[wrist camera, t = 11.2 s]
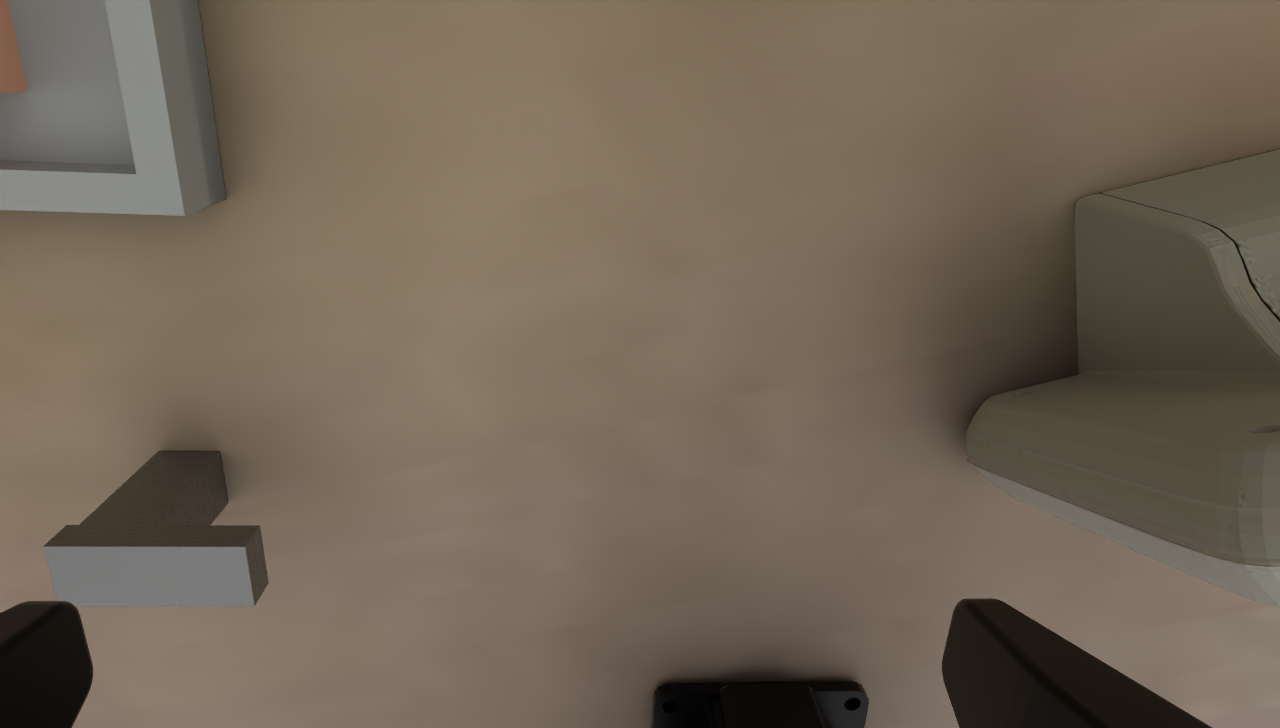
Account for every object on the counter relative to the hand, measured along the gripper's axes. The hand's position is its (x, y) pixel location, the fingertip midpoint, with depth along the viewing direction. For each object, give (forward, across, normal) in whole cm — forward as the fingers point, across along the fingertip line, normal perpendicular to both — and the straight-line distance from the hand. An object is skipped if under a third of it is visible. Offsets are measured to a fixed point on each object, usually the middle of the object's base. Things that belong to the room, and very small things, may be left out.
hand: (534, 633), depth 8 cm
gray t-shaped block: (+12, +10, +5) cm, 16 cm away
